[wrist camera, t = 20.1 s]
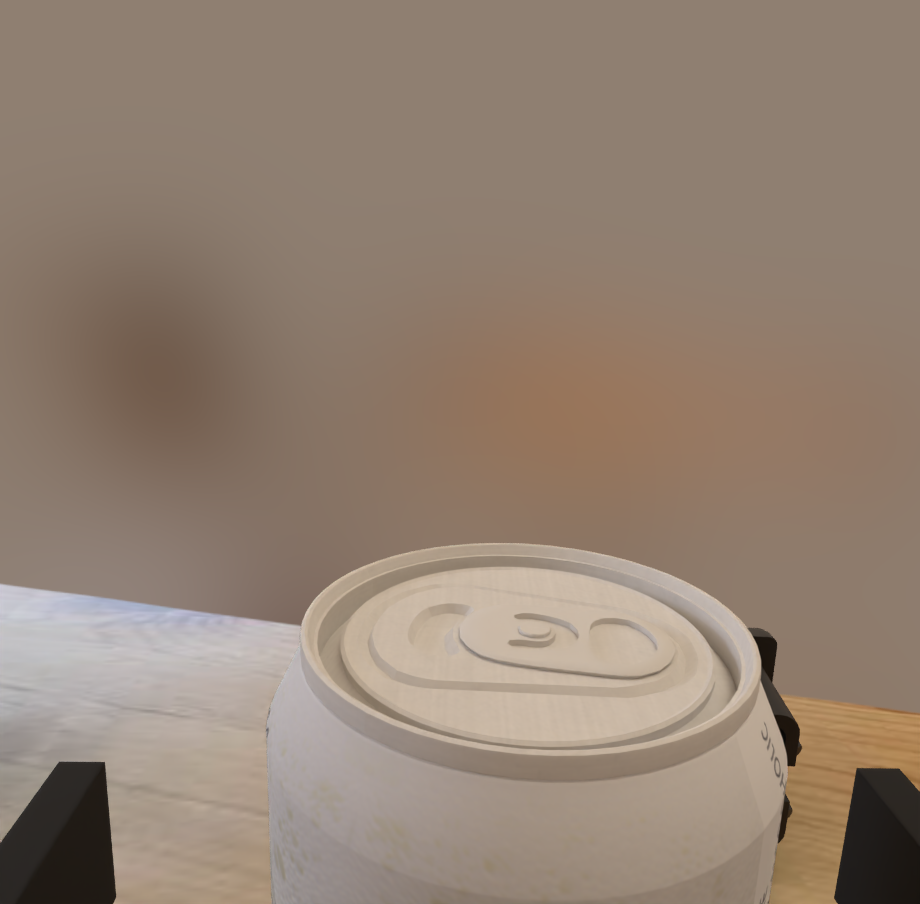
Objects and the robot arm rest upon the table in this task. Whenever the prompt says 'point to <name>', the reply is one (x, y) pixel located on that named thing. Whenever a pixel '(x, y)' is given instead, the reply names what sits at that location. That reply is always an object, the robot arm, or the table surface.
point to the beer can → (522, 738)
